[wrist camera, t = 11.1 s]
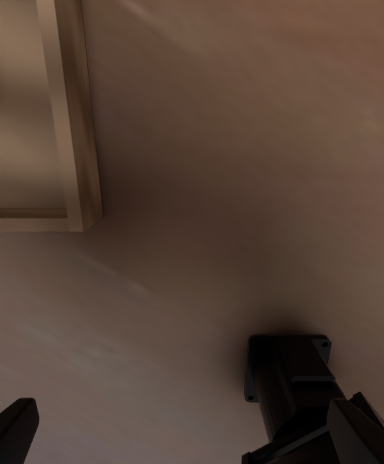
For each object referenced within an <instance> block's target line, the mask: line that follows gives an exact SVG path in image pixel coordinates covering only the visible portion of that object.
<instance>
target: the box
mask: <svg viewBox="0 0 384 464" xmlns="http://www.w3.org/2000/svg"><path fill="white" fill-rule="evenodd" d="M102 217H103V212H102V203H101V193H100V183H99V174H98V164H97V154H96V144H95V135H94V125H93V115H92V105H91V96H90V86H89V76H88V67H87V57H86V47H85V37H84V28H83V18H82V8H81V0H0V232H84V231H85V230H87V229H88V228H89V227H91V226H92V225H93V224H94V223H96V222H97V221H98V220H100V219H101V218H102Z"/></svg>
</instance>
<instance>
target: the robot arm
mask: <svg viewBox="0 0 384 464" xmlns="http://www.w3.org/2000/svg"><path fill="white" fill-rule="evenodd" d="M254 342H257V343H255V344H253V343H254ZM323 342H325V343H323ZM322 343H323V344H322ZM330 349H331V341H330V340H329V338H328V337H326V336H252V337H250V338H249V340H248V351H247V364H246V378H245V391H244V395H245V400H246V401H247V402H259V405H260V409H261V413H262V416H263V420H264V424H265V428H266V432H267V435H268V439H269V443H268V444H266V445H264V446H262V447H261V448H259V449H257V450H255V451H253V452H251V453H250V452H248V453H246V454H244V455H242V464H384V420H383V419H382V418H381V417H380V415H379V414H378V413H377V412H376V410H375V409H374V408H373V407H372V405H371V404H370V403H369V402H368V400H367V399H366V398H365V397H364V395H363V394H362V393H361V392H358V393H356V394H354V395H353V398H351V399H349V400H347V399H346V397H345V395H344V394H343V392H342V390H341V389H340V387H339V386H338V384H337V382H336V381H335V377H334V375H333V374H332V372H331V370H330V369H329V367H328V366H327V365H328V360H329V354H330ZM38 425H39V414H38V409H37V405H36V401H35V399H34V398H20V399H18V400H16V401H15V402H14V403H12V404H11V405H10V406H9V407H7V408H6V409H5V410H4V411H2V412H1V413H0V464H24V461H25V458H26V456H27V453H28V451H29V448H30V446H31V443H32V441H33V438H34V435H35V433H36V430H37V428H38Z"/></svg>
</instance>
